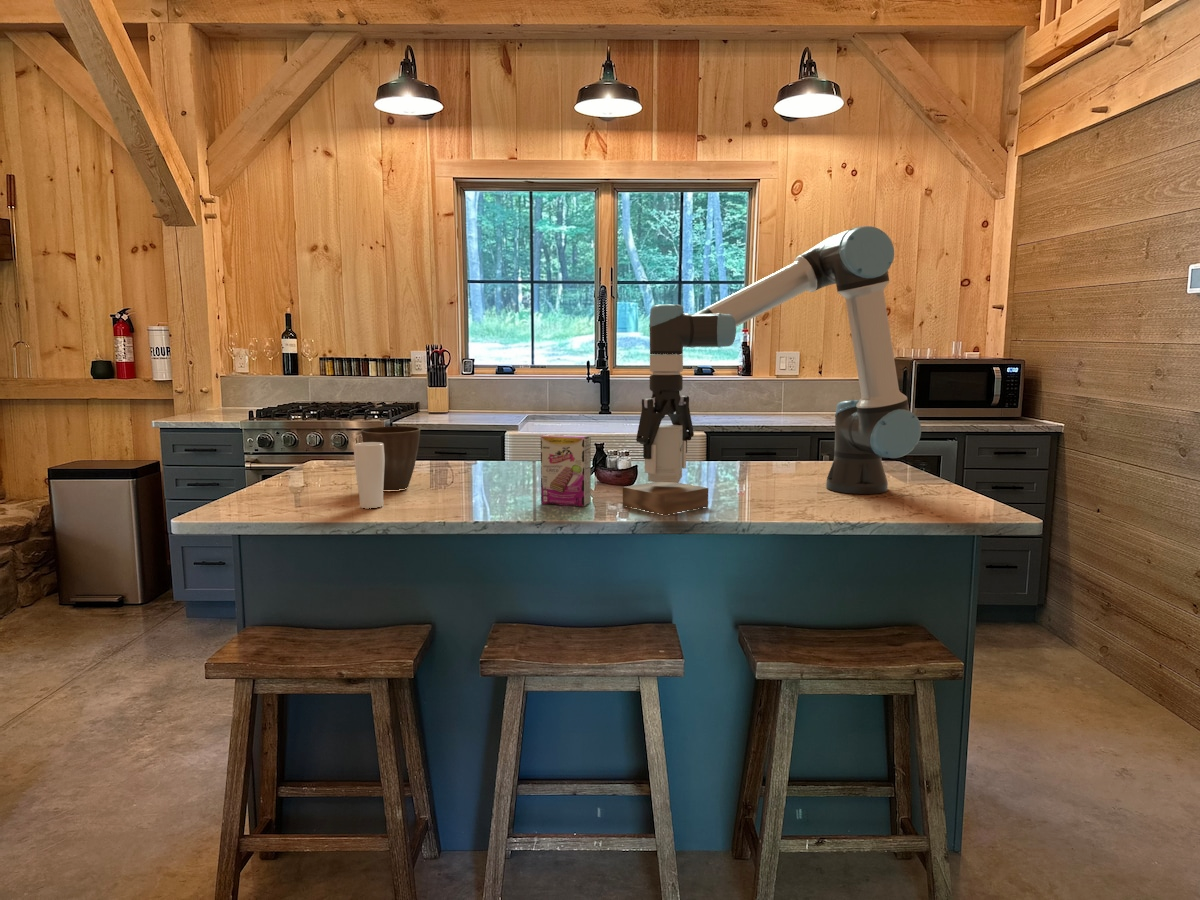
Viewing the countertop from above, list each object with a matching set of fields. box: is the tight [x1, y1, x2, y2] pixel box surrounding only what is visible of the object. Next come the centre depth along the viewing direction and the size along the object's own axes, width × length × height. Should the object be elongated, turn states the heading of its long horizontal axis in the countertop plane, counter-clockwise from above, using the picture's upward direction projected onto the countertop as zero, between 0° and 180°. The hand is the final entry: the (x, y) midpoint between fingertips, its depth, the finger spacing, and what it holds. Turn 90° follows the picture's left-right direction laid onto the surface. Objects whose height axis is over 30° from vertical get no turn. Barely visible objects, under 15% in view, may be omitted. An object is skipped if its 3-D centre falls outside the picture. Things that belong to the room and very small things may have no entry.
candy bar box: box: [540, 433, 592, 508], centre depth 185 cm, size 11×5×16 cm, turn 71°
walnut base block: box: [622, 482, 709, 515], centre depth 182 cm, size 14×14×5 cm
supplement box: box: [647, 424, 683, 483], centre depth 180 cm, size 7×7×13 cm
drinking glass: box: [353, 442, 385, 510], centre depth 182 cm, size 7×7×15 cm
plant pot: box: [360, 425, 421, 490], centre depth 204 cm, size 15×15×16 cm
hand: (665, 470), depth 181 cm, fingers closed on supplement box, 10 cm apart
